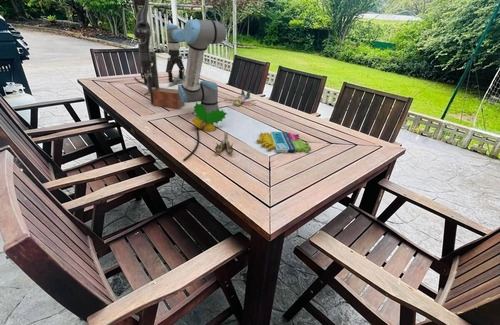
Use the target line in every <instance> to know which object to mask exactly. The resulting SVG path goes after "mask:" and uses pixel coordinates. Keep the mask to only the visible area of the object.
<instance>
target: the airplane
mask: <svg viewBox="0 0 500 325" xmlns="http://www.w3.org/2000/svg"><path fill="white" fill-rule="evenodd" d="M185 72H186V68H184V70H183V79H179V74H177V76H172V77H173V82H169V84H168V87H172V86H174V85H176V84H182V81H183V80H184V79H185V75H186V73H185ZM165 77H166V78H168V81H169V77H168V75H165Z"/></svg>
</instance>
